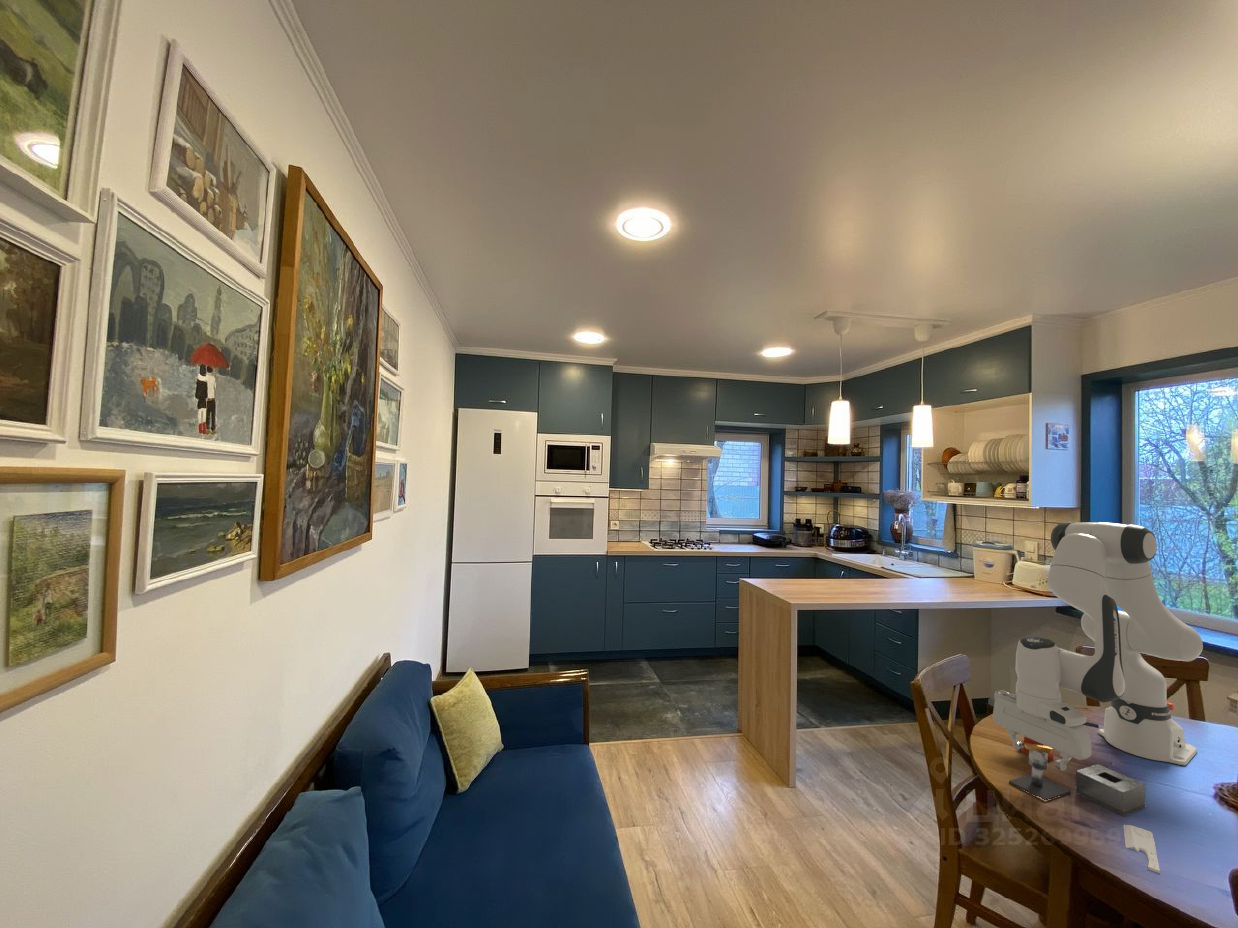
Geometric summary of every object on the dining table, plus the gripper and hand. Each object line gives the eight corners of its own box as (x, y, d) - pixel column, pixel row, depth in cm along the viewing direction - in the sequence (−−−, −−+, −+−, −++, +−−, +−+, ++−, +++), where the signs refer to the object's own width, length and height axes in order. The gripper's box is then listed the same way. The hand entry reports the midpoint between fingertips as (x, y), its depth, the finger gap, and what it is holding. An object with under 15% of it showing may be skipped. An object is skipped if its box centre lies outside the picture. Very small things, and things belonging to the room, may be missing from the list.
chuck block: (1097, 785, 127) (1097, 763, 127) (1145, 807, 118) (1144, 784, 118) (1076, 793, 123) (1076, 770, 124) (1123, 816, 115) (1123, 792, 115)
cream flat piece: (1123, 861, 102) (1123, 856, 102) (1120, 825, 113) (1120, 820, 113) (1160, 875, 98) (1160, 869, 98) (1153, 836, 109) (1153, 831, 109)
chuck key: (1020, 778, 128) (1021, 739, 128) (1046, 782, 127) (1047, 743, 126) (1027, 786, 125) (1029, 747, 124) (1054, 791, 123) (1056, 751, 123)
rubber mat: (1033, 775, 131) (1033, 772, 131) (1070, 793, 123) (1070, 790, 123) (1009, 782, 127) (1009, 780, 127) (1045, 801, 120) (1045, 799, 120)
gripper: (986, 688, 135) (987, 740, 134) (1078, 723, 115) (1079, 783, 115) (1002, 685, 137) (1002, 736, 136) (1094, 719, 118) (1096, 778, 117)
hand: (1038, 758), depth 126 cm, fingers open, 8 cm apart
